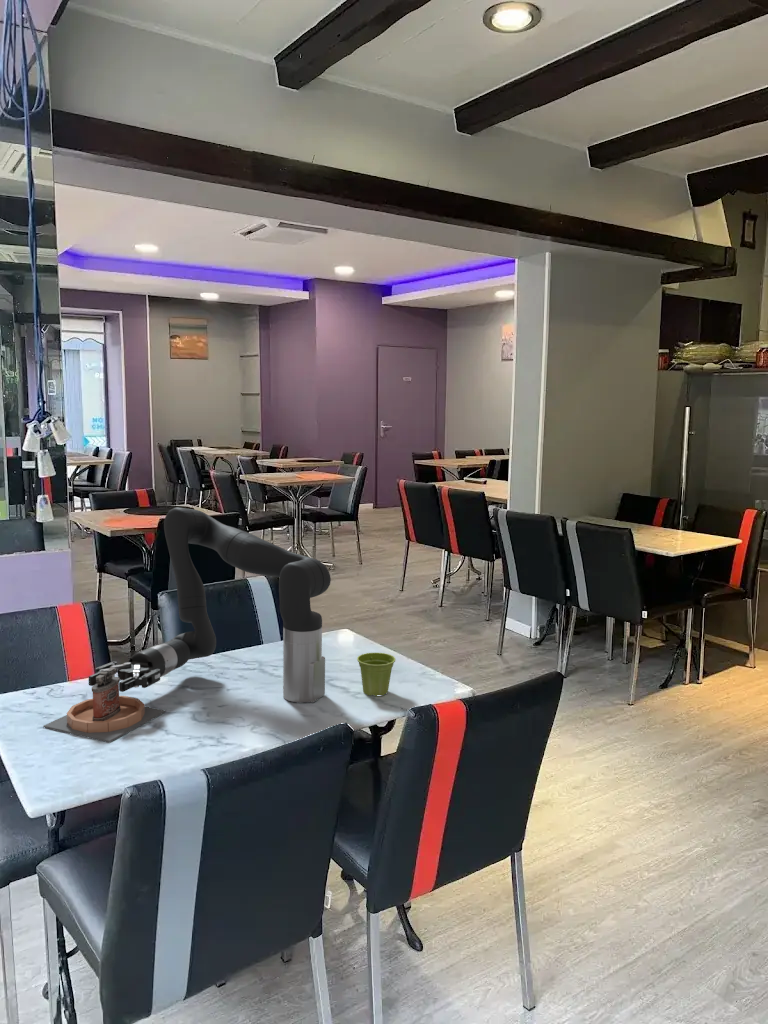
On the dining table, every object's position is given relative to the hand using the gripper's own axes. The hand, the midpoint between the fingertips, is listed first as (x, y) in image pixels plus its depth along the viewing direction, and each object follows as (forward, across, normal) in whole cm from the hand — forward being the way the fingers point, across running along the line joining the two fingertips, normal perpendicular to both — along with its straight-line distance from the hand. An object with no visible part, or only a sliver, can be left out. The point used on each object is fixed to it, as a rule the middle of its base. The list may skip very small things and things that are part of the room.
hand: (105, 684), depth 167 cm
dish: (0, 0, +8) cm, 8 cm away
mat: (0, 0, +8) cm, 8 cm away
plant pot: (-41, +47, +8) cm, 63 cm away
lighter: (0, 0, +7) cm, 7 cm away
